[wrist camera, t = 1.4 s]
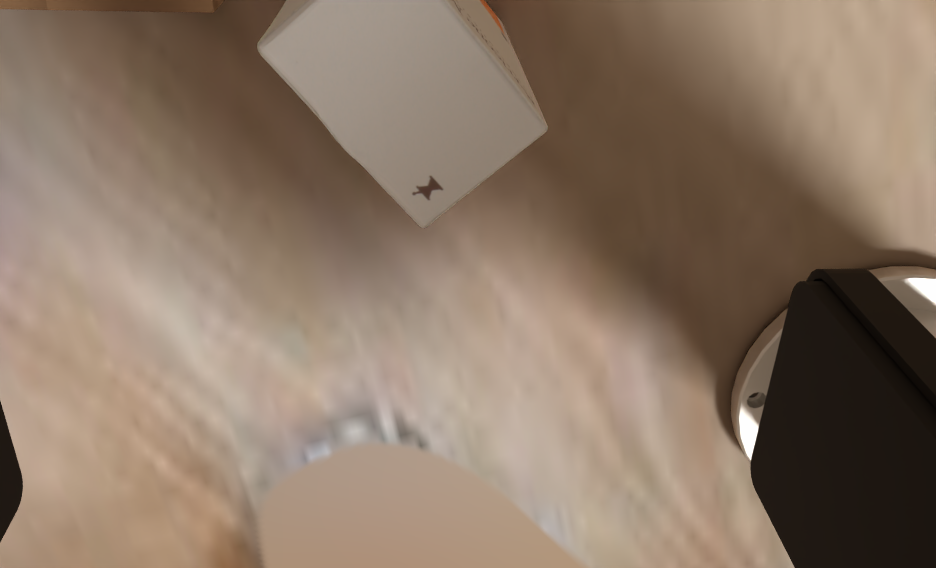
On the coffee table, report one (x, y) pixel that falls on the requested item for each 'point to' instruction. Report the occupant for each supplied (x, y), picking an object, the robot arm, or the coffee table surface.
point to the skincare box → (410, 91)
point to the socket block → (115, 5)
